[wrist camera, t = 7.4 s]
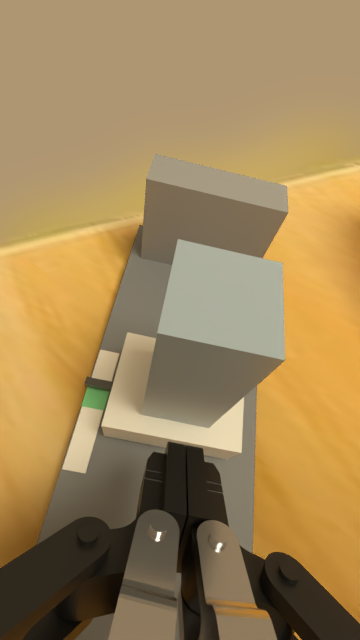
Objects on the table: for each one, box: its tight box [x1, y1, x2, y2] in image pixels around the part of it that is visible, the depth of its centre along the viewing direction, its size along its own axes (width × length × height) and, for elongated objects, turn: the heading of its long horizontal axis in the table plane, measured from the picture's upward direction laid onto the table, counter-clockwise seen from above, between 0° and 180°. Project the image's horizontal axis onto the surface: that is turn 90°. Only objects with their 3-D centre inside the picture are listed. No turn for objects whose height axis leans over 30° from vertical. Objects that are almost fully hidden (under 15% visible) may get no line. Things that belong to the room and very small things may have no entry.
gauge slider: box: [85, 239, 285, 460], centre depth 18 cm, size 10×14×13 cm
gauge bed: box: [37, 154, 288, 640], centre depth 20 cm, size 12×30×10 cm, turn 171°
